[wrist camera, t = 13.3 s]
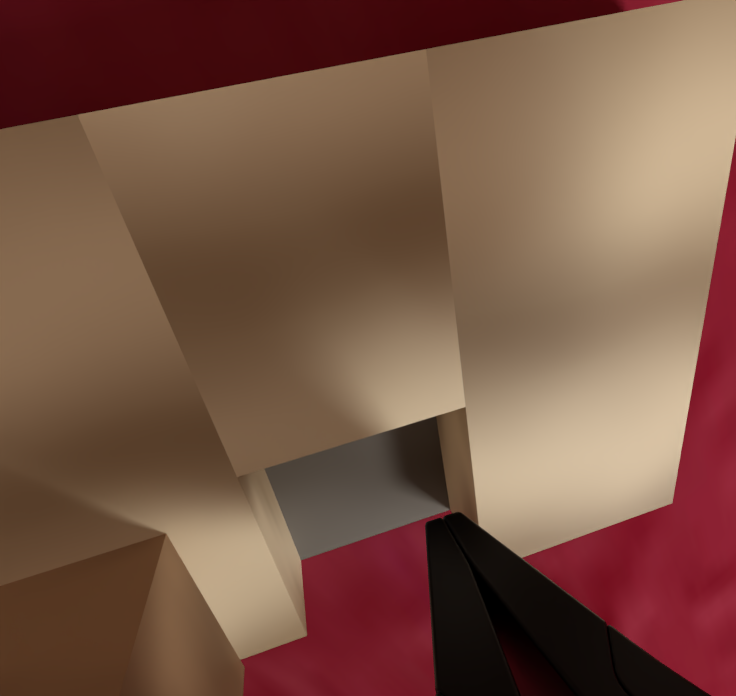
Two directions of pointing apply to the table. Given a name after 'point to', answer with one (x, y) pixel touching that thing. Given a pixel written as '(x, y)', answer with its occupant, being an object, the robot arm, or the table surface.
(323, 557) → the table surface
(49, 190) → the trap deck
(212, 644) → the walnut block
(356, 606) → the table surface
